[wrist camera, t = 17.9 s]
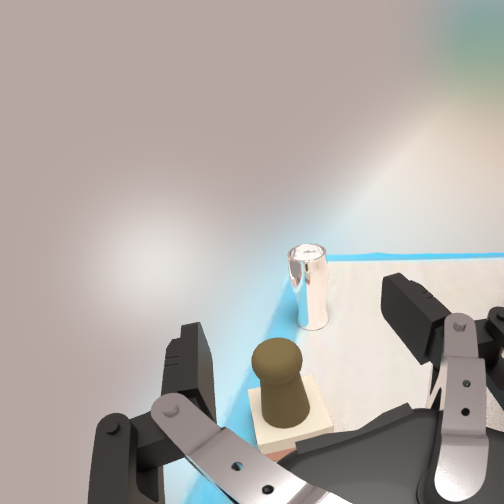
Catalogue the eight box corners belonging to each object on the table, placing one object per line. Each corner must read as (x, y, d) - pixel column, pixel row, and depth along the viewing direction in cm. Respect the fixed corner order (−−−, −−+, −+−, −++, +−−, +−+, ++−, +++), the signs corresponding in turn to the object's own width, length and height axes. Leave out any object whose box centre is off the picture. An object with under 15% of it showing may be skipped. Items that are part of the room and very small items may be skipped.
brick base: (314, 398, 40) (313, 373, 37) (332, 446, 32) (333, 425, 29) (255, 412, 40) (247, 389, 37) (265, 463, 31) (257, 444, 29)
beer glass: (323, 335, 52) (318, 264, 46) (289, 327, 56) (279, 259, 50) (335, 312, 57) (332, 244, 51) (304, 307, 61) (296, 241, 55)
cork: (254, 422, 32) (234, 365, 27) (271, 387, 37) (258, 326, 32) (301, 433, 29) (295, 376, 25) (315, 394, 34) (312, 332, 30)
